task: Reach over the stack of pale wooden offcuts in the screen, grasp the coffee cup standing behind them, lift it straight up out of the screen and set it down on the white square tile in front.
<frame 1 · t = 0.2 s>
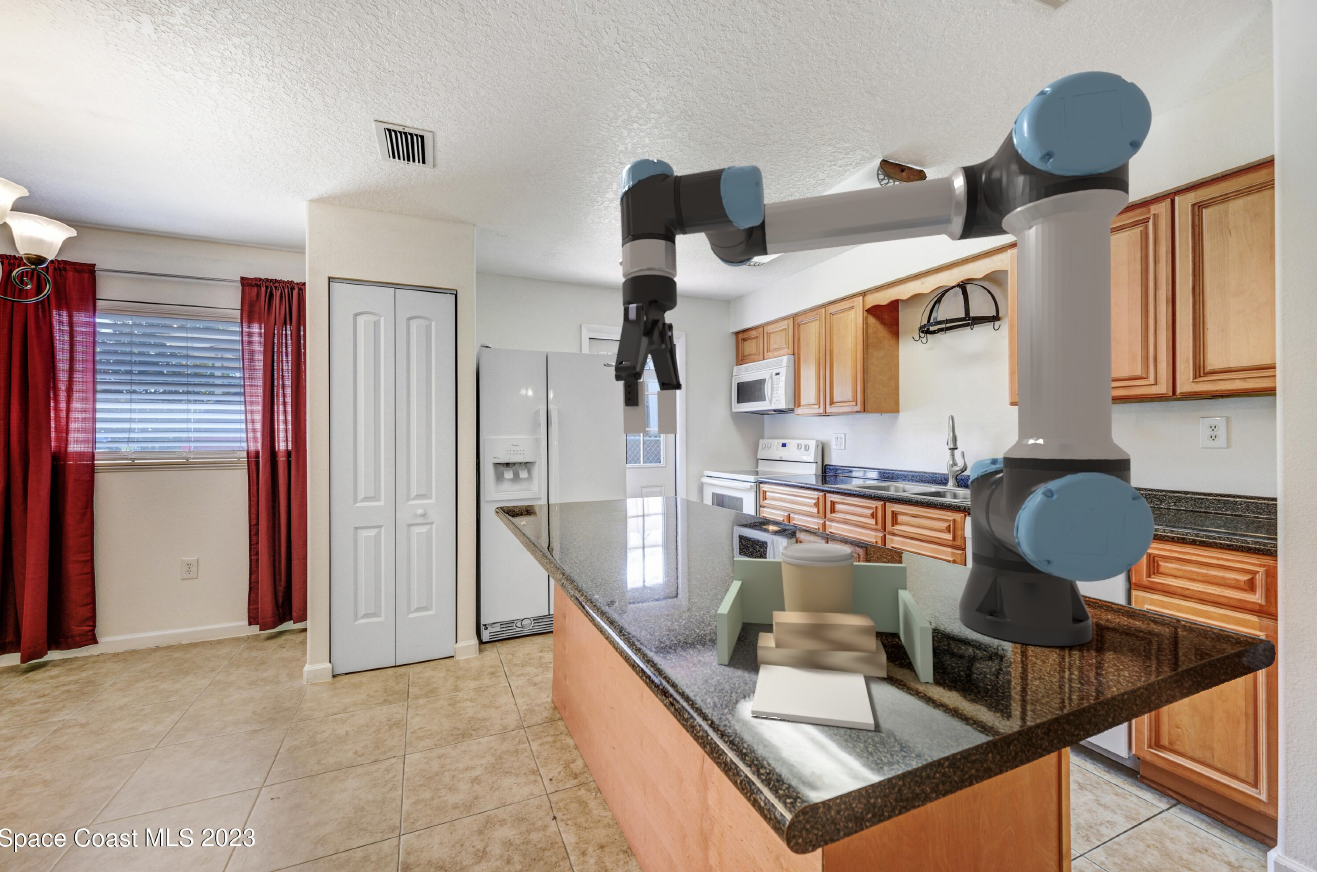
hand: (652, 434, 76), 27 cm above the worktop, tool pointing down, fingers open, 13 cm apart
white square tile: (810, 696, 56), on the worktop
birch offcut: (819, 668, 64), on the worktop, touching oak offcut
coffee cup: (818, 643, 72), on the worktop
oak offcut: (822, 643, 64), point 2 cm above the worktop, touching birch offcut
screen: (818, 642, 71), on the worktop
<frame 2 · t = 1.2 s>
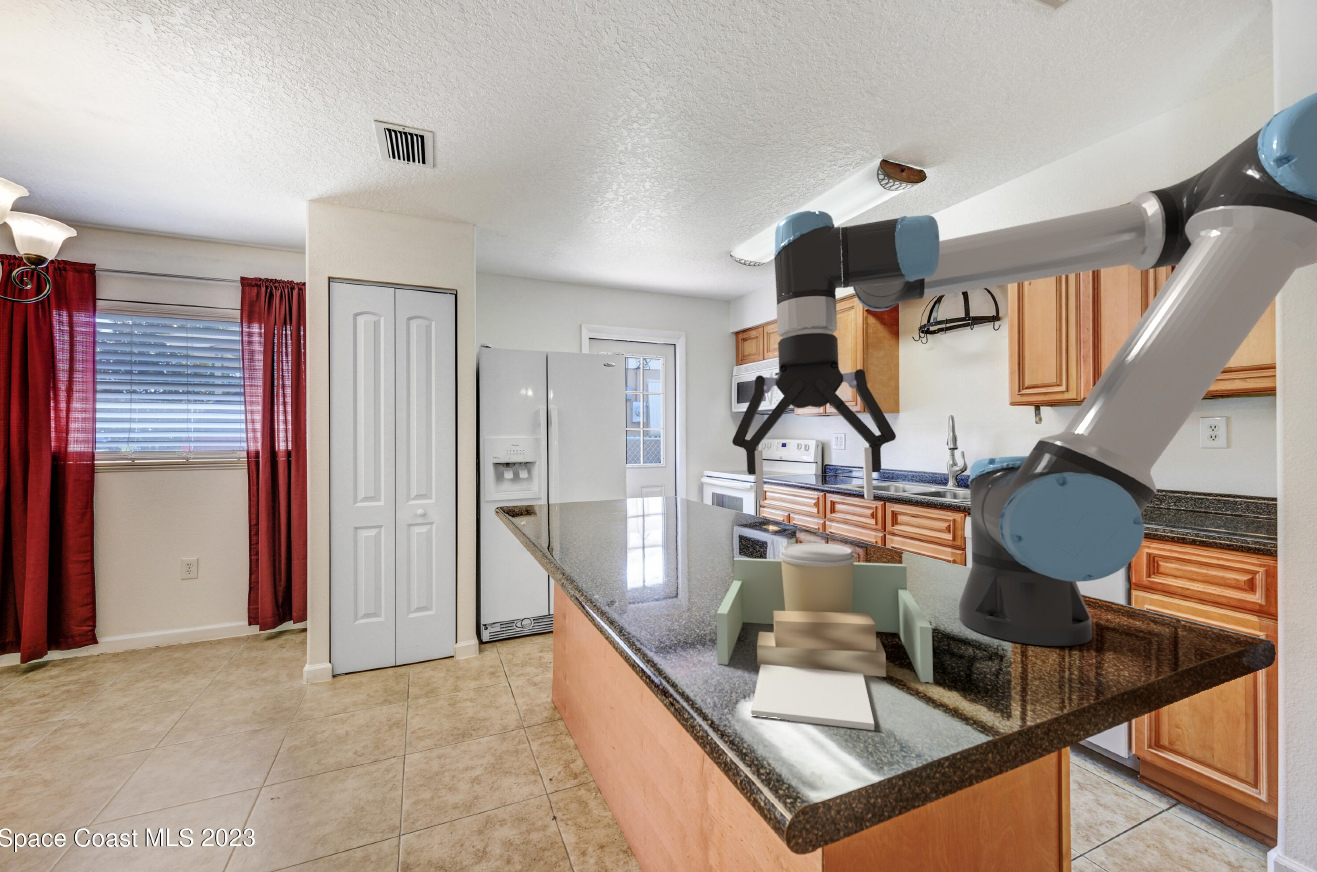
hand: (813, 499, 72), 18 cm above the worktop, tool pointing down, fingers open, 13 cm apart
nothing on the worktop moved.
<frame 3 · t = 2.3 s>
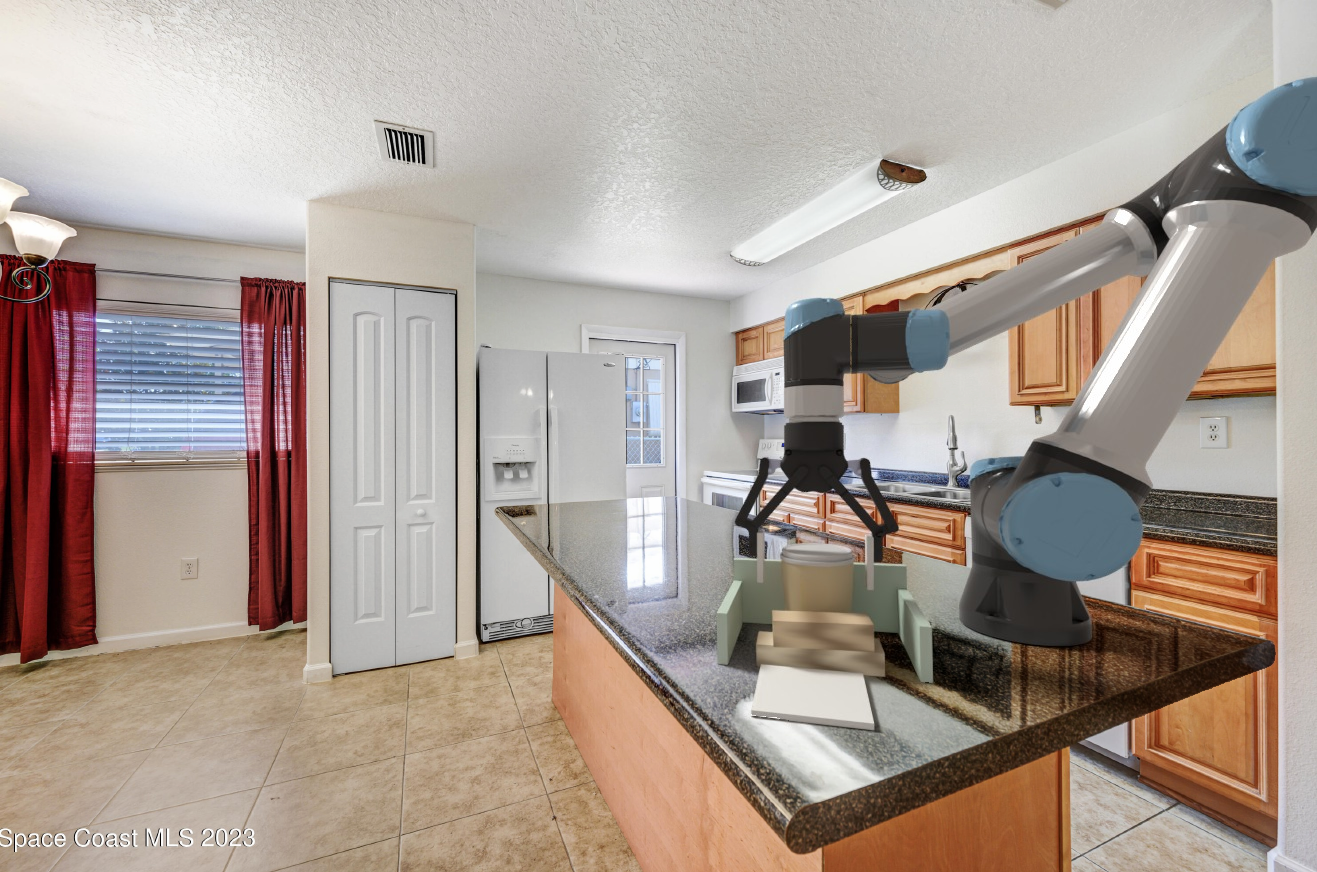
hand: (813, 583, 72), 7 cm above the worktop, tool pointing down, fingers open, 13 cm apart
nothing on the worktop moved.
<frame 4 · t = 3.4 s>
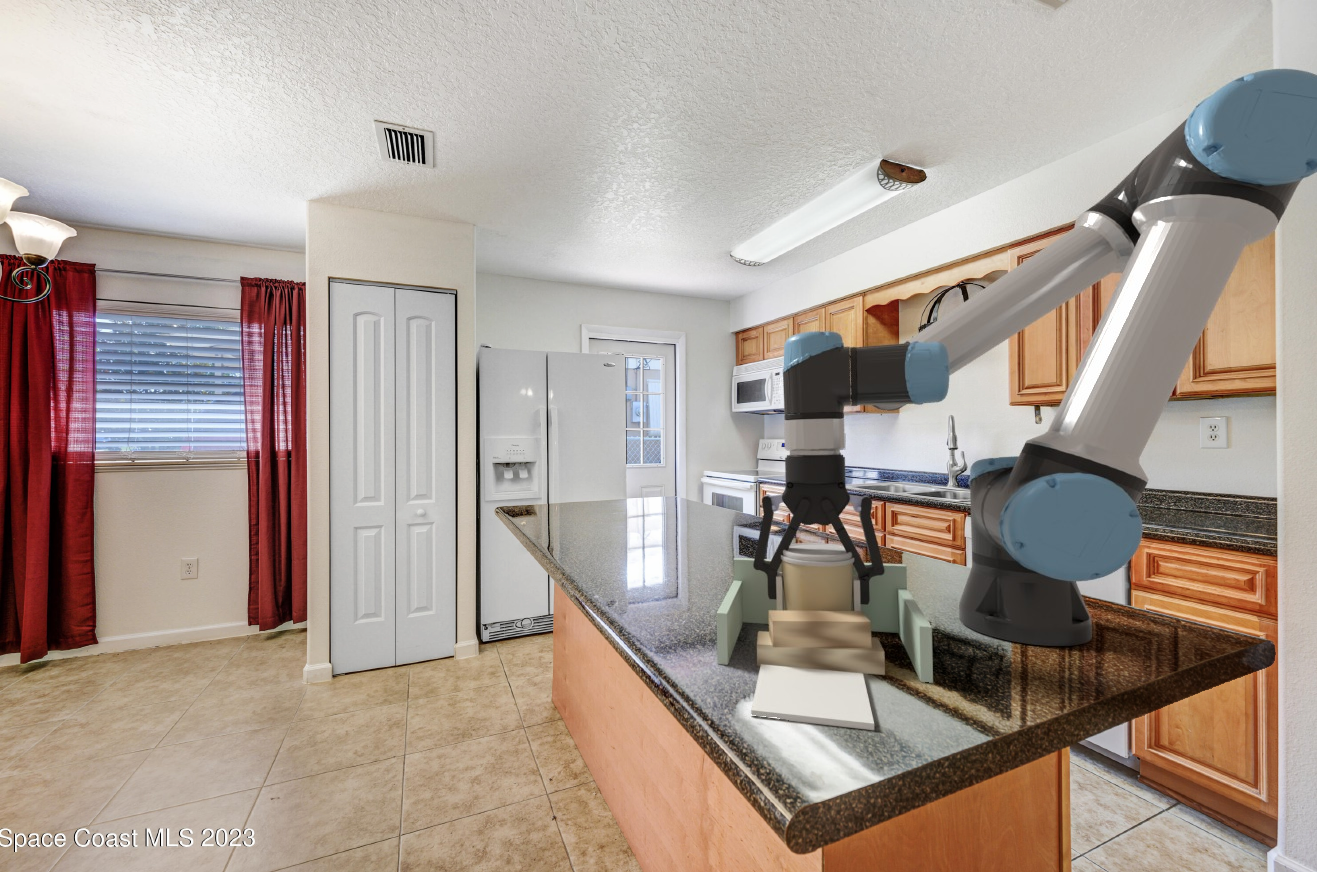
hand: (818, 626, 72), 2 cm above the worktop, tool pointing down, fingers closed on coffee cup, 9 cm apart
coffee cup: (818, 642, 72), on the worktop, touching gripper
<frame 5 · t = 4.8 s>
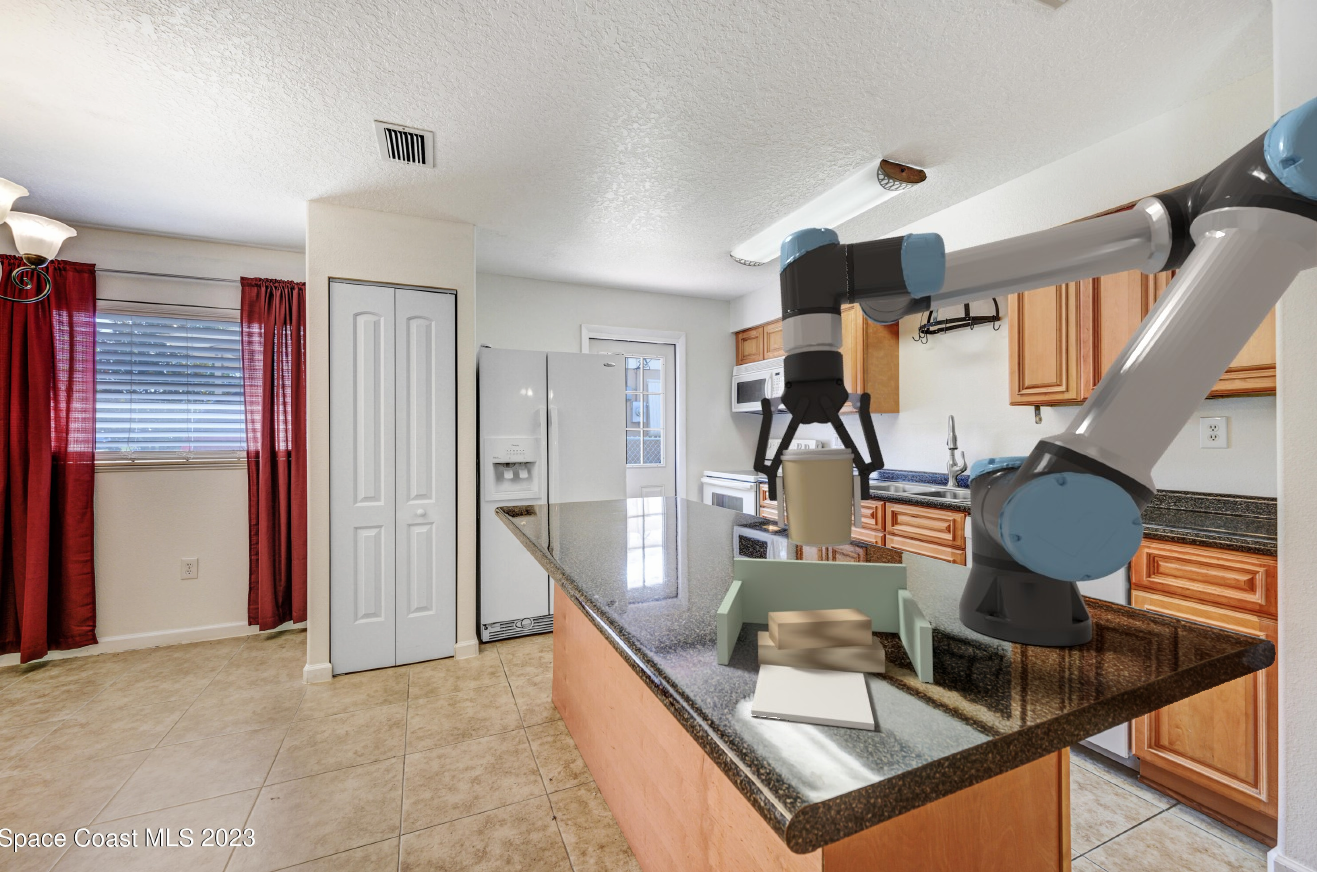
hand: (819, 525, 72), 15 cm above the worktop, tool pointing down, fingers closed on coffee cup, 9 cm apart
coffee cup: (819, 542, 71), point 13 cm above the worktop, touching gripper
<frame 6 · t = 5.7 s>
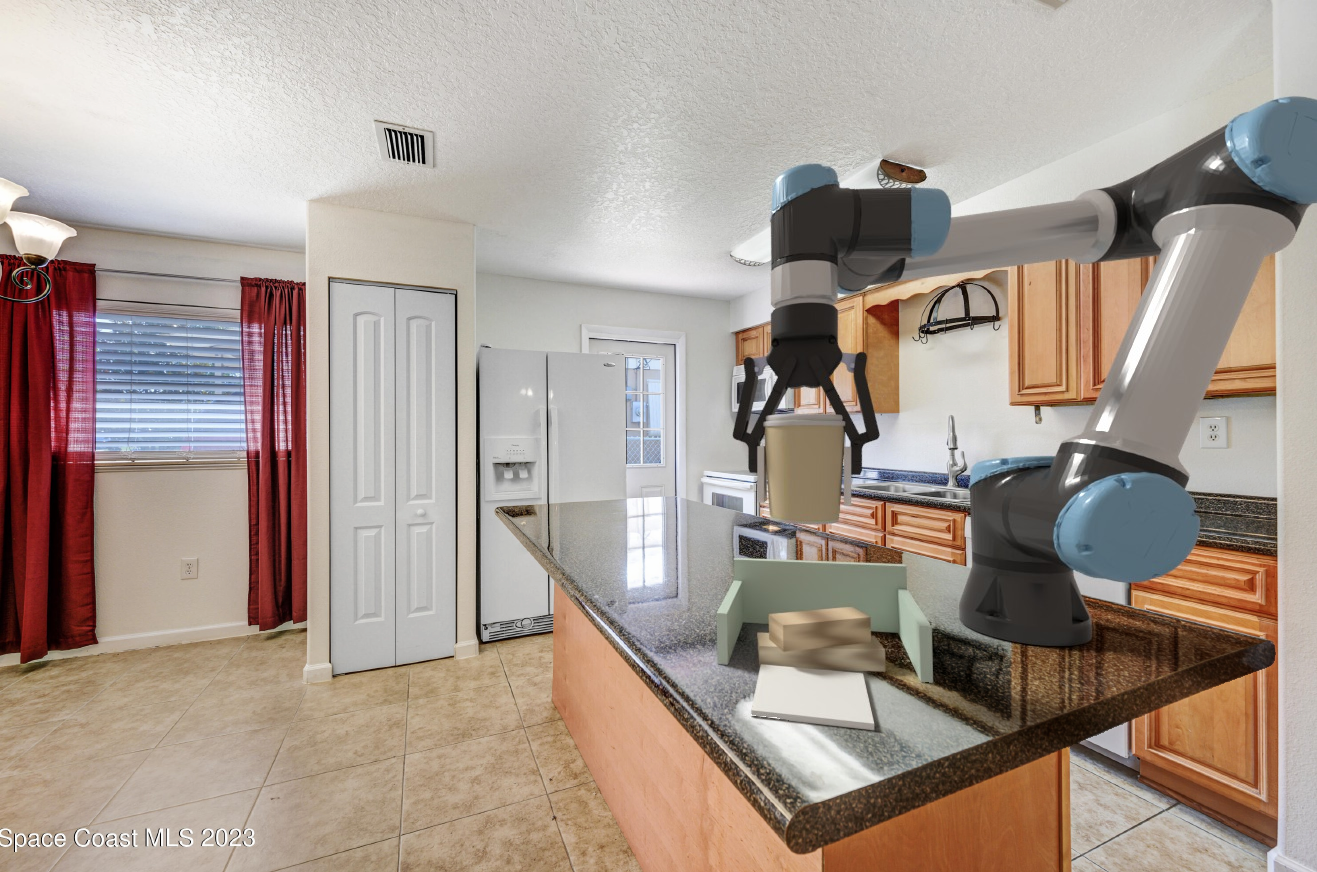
hand: (803, 502, 64), 19 cm above the worktop, tool pointing down, fingers closed on coffee cup, 9 cm apart
coffee cup: (803, 521, 64), point 17 cm above the worktop, touching gripper
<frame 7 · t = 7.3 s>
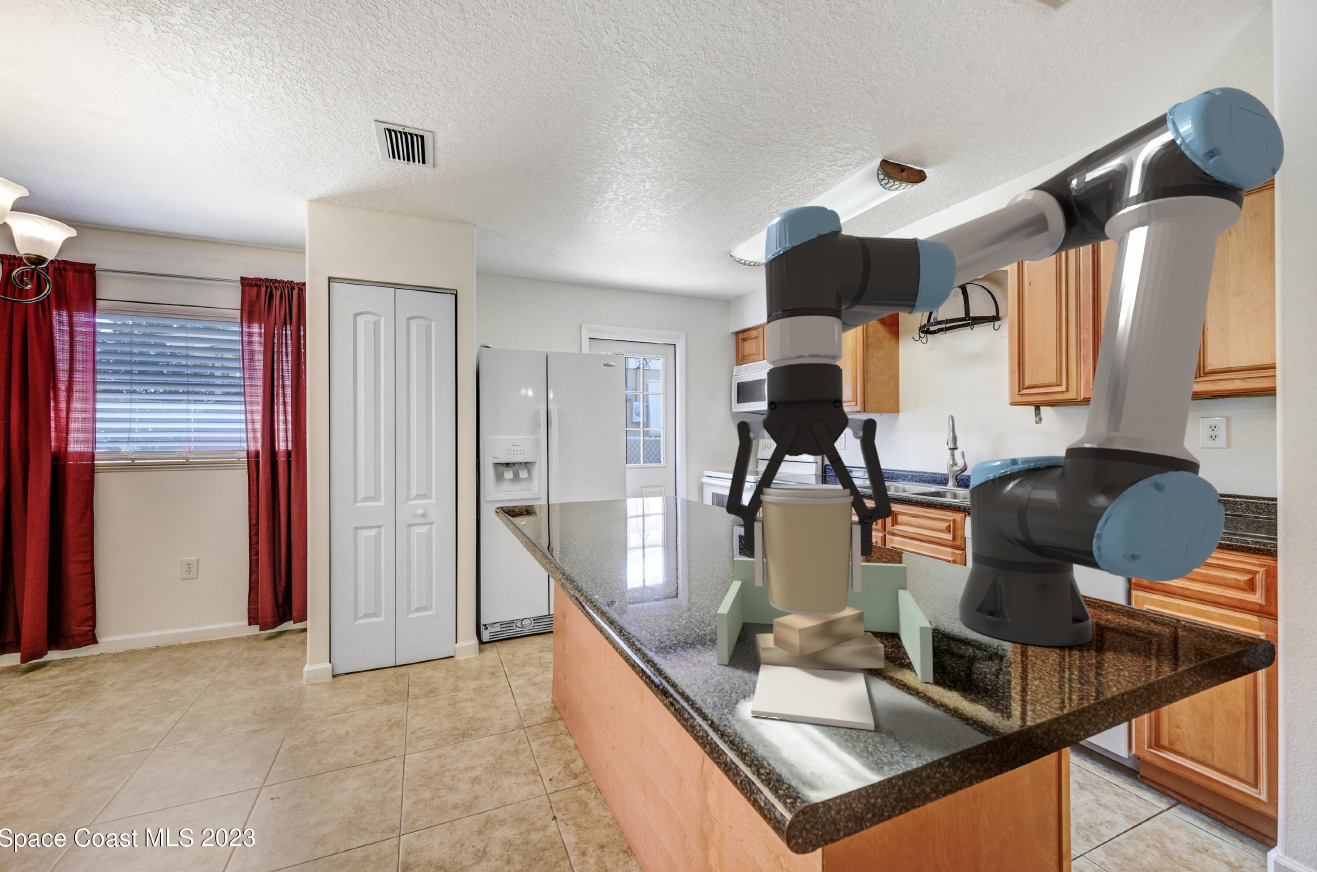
hand: (807, 585, 56), 11 cm above the worktop, tool pointing down, fingers closed on coffee cup, 9 cm apart
coffee cup: (807, 606, 56), point 9 cm above the worktop, touching gripper
when the fingers open (3 cm above the worktop, at t = 8.9 s): coffee cup stays where it is, resting on white square tile.
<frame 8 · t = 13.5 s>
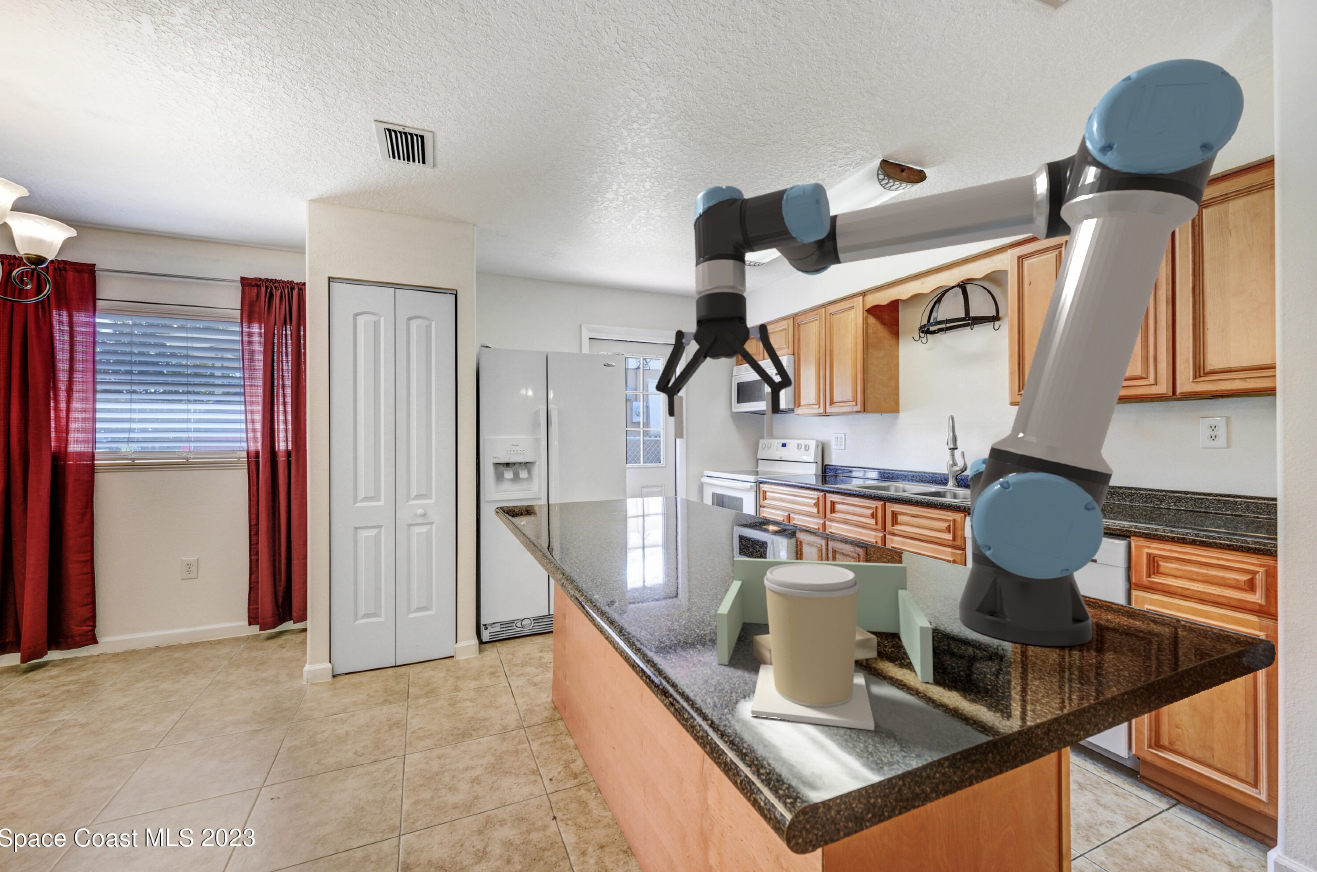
hand: (723, 438, 82), 27 cm above the worktop, tool pointing down, fingers open, 13 cm apart
birch offcut: (814, 661, 67), on the worktop, touching oak offcut
coffee cup: (813, 691, 56), resting on white square tile
oak offcut: (815, 635, 67), point 2 cm above the worktop, touching birch offcut
at the end: coffee cup inside the target area on the white square tile (0.3 cm from its centre), point 0.4 cm above the white square tile's base; coffee cup tilted 0°; the gripper is holding nothing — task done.
